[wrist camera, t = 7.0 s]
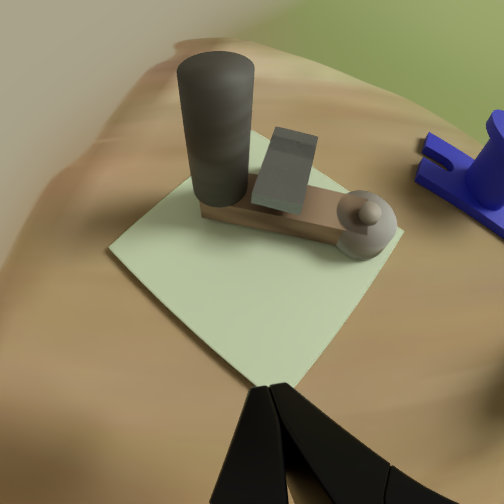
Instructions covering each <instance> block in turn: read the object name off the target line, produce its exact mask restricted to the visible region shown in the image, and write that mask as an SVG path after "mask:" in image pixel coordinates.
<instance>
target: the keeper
mask: <svg viewBox="0 0 504 504" xmlns="http://www.w3.org/2000/svg"><path fill="white" fill-rule="evenodd" d="M317 139H318V137H317V136H313V135H309V134H305V133H301V132H297V131H293V130H289V129H285V128H281V127H275V130H274V132H273V135H272V138H271V141H270V144H269V146H268V149H267V152H266V155H265V157H264V160H263V163H262V166H261V169H260V171H259V174H258V177H257V180H256V183H255V185H254V188H253V191H252V198H251V203H253V204H257V205H261V206H265V207H269V208H273V209H277V210H281V211H284V212H288V213H292V214H296V215H300V214H301V211H302V207H303V203H304V199H305V194H306V190H307V186H308V181H309V177H310V172H311V167H312V163H313V158H314V154H315V149H316V144H317Z"/></svg>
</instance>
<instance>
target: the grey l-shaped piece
mask: <svg viewBox="0 0 504 504" xmlns="http://www.w3.org/2000/svg"><path fill="white" fill-rule="evenodd" d="M177 79H178V87H179V95H180V102H181V110H182V117H183V125H184V132H185V139H186V146H187V153H188V159H189V166H190V172H191V179H192V185H193V191H194V194H195V196H196V197H197V199H198V200H199V203H200V210H201V216H202V218H207V219H212V220H217V221H222V222H227V223H232V224H237V225H242V226H247V227H252V228H257V229H261V230H266V231H271V232H276V233H281V234H285V235H290V236H295V237H300V238H304V239H309V240H314V241H318V242H323V243H327V244H332V245H336V246H337V247H338V248H339V250H341V251H342V252H343V253H344V254H346V255H348V256H350V257H352V258H355V259H360V260H367V259H372V258H374V257H376V256H378V255H379V254H380V253H381V252H382V251H383V250H384V248H385V247H386V246H387V245H388V243H389V242H390V241H391V240H392V238H393V237H394V235H395V233H396V230H397V220H396V216H395V214H394V212H393V210H392V208H391V207H390V206H389V204H388V203H387V202H386V201H385V200H383V199H382V198H381V197H379V196H378V195H376V194H374V193H371V192H368V191H361V190H357V191H352V192H349V193H347V194H345V193H341V192H337V191H332V190H328V189H324V188H319V187H315V186H310V185H308V186H307V190H306V194H305V199H304V203H303V207H302V211H301V214H300V215H296V214H292V213H288V212H284V211H281V210H277V209H273V208H269V207H265V206H261V205H257V204H253V203H251V198H252V191H253V188H254V185H255V183H256V180H257V177H258V175H257V174H251V173H248V169H249V151H250V134H251V117H252V101H253V84H254V64H253V63H252V61H251V60H250V59H248V58H247V57H245V56H243V55H240V54H237V53H233V52H227V51H212V52H205V53H200V54H197V55H194V56H192V57H189V58H187V59H186V60H184V61H183V62H182V63H181V64H180V65H179V66H178V68H177Z"/></svg>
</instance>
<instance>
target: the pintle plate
mask: <svg viewBox="0 0 504 504" xmlns="http://www.w3.org/2000/svg"><path fill="white" fill-rule="evenodd" d="M269 144H270V140H268V139H267V138H265V137H263V136H262V135H260V134H258V133H256V132H255V131H253V130H251V134H250V151H249V169H248V173H251V174H257V175H258V174H259V171H260V169H261V166H262V163H263V160H264V157H265V155H266V152H267V149H268V146H269ZM308 185H310V186H315V187H319V188H324V189H328V190H332V191H337V192H341V193H345V194H347V193H349V191H348V190H346V189H345V188H344V187H342V186H341V185H339V184H338V183H336V182H335V181H333V180H332V179H330V178H329V177H327V176H326V175H324V174H323V173H321V172H320V171H318V170H317V169H315V168H313V167H311V172H310V177H309V181H308ZM403 233H404V231H403V230H402V229H400V228H399V227H398V226H397V230H396V233H395V235H394V237H393V238H392V240H391V241H390V242H389V243H388V245H387V246H386V247H385V248H384V250H383V251H382V252H381V253H380V254H379V255H378V256H376V257H374V258H372V259H367V260H360V259H355V258H352V257H350V256H348V255H346V254H344V253H343V252H342V251H341V250H339V248H338V247H337V246H336V245H332V244H327V243H323V242H318V241H314V240H309V239H304V238H300V237H295V236H290V235H285V234H281V233H276V232H271V231H266V230H261V229H257V228H252V227H247V226H242V225H237V224H232V223H227V222H222V221H217V220H212V219H207V218H202V216H201V210H200V203H199V200H198V199H197V197H196V196H195V194H194V191H193V185H192V179H191V176H190V177H189V178H188V179H187V180H185V181H184V182H183V183H182V184H181V185H179V186H178V187H177V188H176V189H174V190H173V191H172V192H171V193H170V194H168V195H167V196H166V197H165V198H164V199H162V200H161V201H160V202H159V203H158V204H157V205H155V206H154V207H153V208H152V209H151V210H149V211H148V212H147V213H146V214H145V215H144V216H143V217H141V218H140V219H139V220H138V221H137V222H136V223H135V224H133V225H132V226H131V227H130V228H129V229H128V230H127V231H126V232H124V233H123V234H122V235H121V236H120V237H119V238H118V239H117V240H116V241H115V242H113V243H112V244H111V245H110V246H109V249H110V250H111V252H112V253H113V254H114V255H115V256H116V257H117V258H118V259H119V260H120V261H121V262H122V263H123V264H124V265H125V266H126V267H127V268H128V269H129V270H130V271H131V272H132V274H133V275H134V276H135V277H136V278H137V279H138V280H139V281H140V282H141V283H142V284H143V285H144V286H145V287H146V288H147V289H148V290H149V291H150V292H151V293H152V294H153V295H154V296H155V297H157V298H158V299H159V300H160V301H161V302H162V303H163V304H164V305H165V306H166V307H167V308H168V309H169V310H170V311H171V312H172V313H173V314H174V315H175V316H176V317H177V318H178V319H180V320H181V321H182V322H183V323H184V324H185V325H186V326H187V327H188V328H189V329H190V330H191V331H193V332H194V333H195V334H196V335H197V336H198V337H199V338H200V339H201V340H202V341H204V342H205V343H206V344H207V345H208V346H209V347H210V348H211V349H213V350H214V351H215V352H216V353H217V354H218V355H219V356H221V357H222V358H223V359H224V360H225V361H226V362H228V363H229V364H230V365H231V366H232V367H233V368H235V369H236V370H237V371H238V372H239V373H241V374H242V375H243V376H244V377H245V378H247V379H248V380H249V381H250V382H251V383H253V384H254V385H255V386H263V385H266V386H268V387H269V385H271V384H276V383H282V382H286V383H288V384H289V385H291V386H292V387H293V388H294V387H295V386H296V385H297V383H298V382H299V381H300V380H301V379H302V377H303V376H304V375H305V374H306V372H307V371H308V370H309V369H310V367H311V366H312V365H313V363H314V362H315V361H316V360H317V358H318V357H319V356H320V354H321V353H322V352H323V351H324V349H325V348H326V347H327V345H328V344H329V343H330V341H331V340H332V339H333V337H334V336H335V335H336V333H337V332H338V331H339V329H340V328H341V326H342V325H343V324H344V322H345V321H346V319H347V318H348V317H349V315H350V314H351V312H352V311H353V310H354V308H355V307H356V305H357V304H358V302H359V301H360V300H361V298H362V297H363V295H364V294H365V292H366V291H367V289H368V288H369V286H370V285H371V283H372V282H373V280H374V279H375V277H376V276H377V274H378V273H379V271H380V270H381V268H382V266H383V265H384V263H385V262H386V260H387V259H388V257H389V255H390V254H391V252H392V251H393V249H394V247H395V246H396V244H397V242H398V241H399V239H400V238H401V236H402V234H403Z"/></svg>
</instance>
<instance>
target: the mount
mask: <svg viewBox="0 0 504 504" xmlns="http://www.w3.org/2000/svg"><path fill="white" fill-rule="evenodd" d="M486 129H487V132H488V135H489V137H490V139H489V141H488V142H487V144H486V145H485V146H484V148H483V149H482V151H481V152H480V153H479V155H478V156H477V158H476V159H475V160H474V159H472V158H471V157H469V156H468V155H466V154H465V153H463V152H461V151H460V150H458V149H457V148H455V147H453V146H452V145H450V144H449V143H447V142H445V141H444V140H442V139H440V138H439V137H437V136H435V135H433V134H432V133H430V132H429V133H428V135H427V136H426V138H425V142H424V146H423V150H422V153H423V154H425V155H427V156H428V157H430V158H432V159H434V160H435V161H437V162H439V163H440V164H442V165H444V166H445V167H446V168H447V170H448V171H446V170H445V169H443V168H441V167H440V166H438V165H436V164H435V163H433V162H431V161H430V160H428V159H426V158H424V157H423V158H422V160H421V162H420V163H419V166H418V170H417V174H416V177H415V181H414V182H416V183H418V184H420V185H421V186H423V187H425V188H426V189H428V190H430V191H431V192H433V193H435V194H436V195H438V196H440V197H441V198H443V199H445V200H446V201H448V202H450V203H451V204H453V205H454V206H456V207H457V208H459V209H461V210H462V211H464V212H465V213H467V214H468V215H470V216H471V217H473V218H474V219H476V220H477V221H479V222H480V223H482V224H483V225H485V226H486V227H487V228H489V229H490V230H492V231H493V232H495V233H496V234H497V235H499V236H500V237H501V238H503V239H504V111H503V110H494V111H493V112H492V114H491V116H490V117H489V119H488V120H487V122H486Z"/></svg>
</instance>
